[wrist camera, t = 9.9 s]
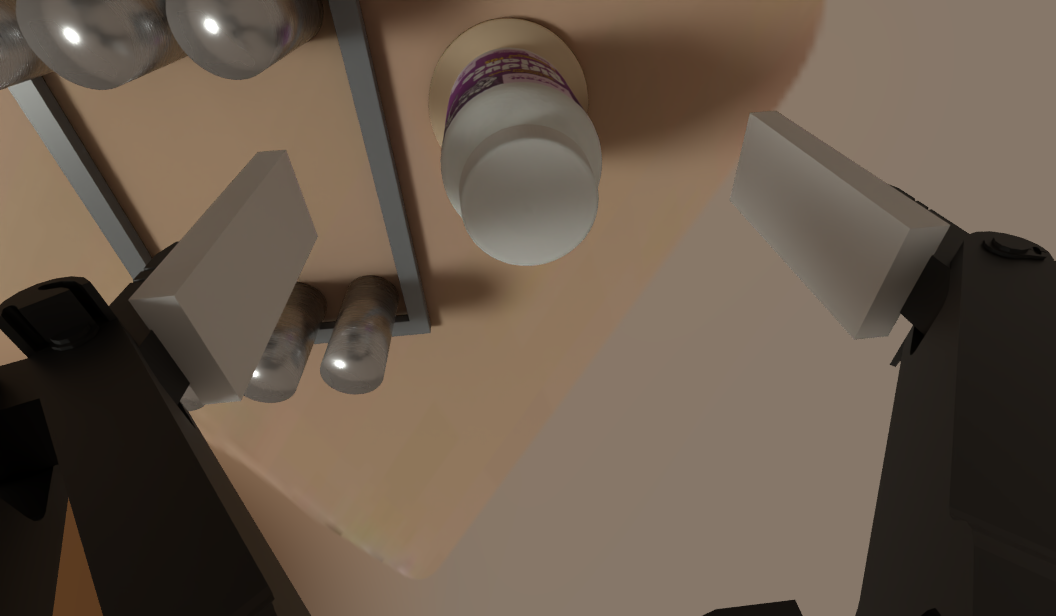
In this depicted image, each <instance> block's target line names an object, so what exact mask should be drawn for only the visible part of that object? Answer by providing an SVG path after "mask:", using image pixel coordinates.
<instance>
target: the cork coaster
mask: <svg viewBox="0 0 1056 616" xmlns="http://www.w3.org/2000/svg"><path fill="white" fill-rule="evenodd" d="M506 47H511V48H520V49H525V50H528V51H531V52H533V53H536V54H538V55H540V56H541V57H543V58H544V59H546V60H547V61H548V62H550V63H551V64H552V65H553V66H554V67H555V68H556V69H557V70H558V72H559V73H560V74H561V75H562V77H563V78H564V80H565V81H566V83H567V84H568V86H569V88H570V89H571V91H572V92H573V94H574V95H575V97H576V98H577V100H578V101H579V103H580V104H581V106H582V108H583V109H584V111H585V112H586V113H587V115H588V91H587V84H586V80H585V77H584V74H583V71H582V69H581V67H580V64H579V62H578V61H577V59H576V57H575V56H574V54H573V52H572V51H571V50H570V49H569V48H568V46H567V45H566V44H565V43H564V42H563V41H562V40H561V39H560V38H559V37H558V36H557V35H556V34H554V33H553V32H551V31H550V30H548V29H547V28H545V27H543V26H541V25H539V24H537V23H534V22H531V21H528V20H524V19H518V18H498V19H491V20H488V21H485V22H482V23H479V24H477V25H475V26H473V27H471V28H469V29H468V30H466V31H465V32H463V33H462V34H460V35H459V36H458V37H457V38H456V39H455V40H454V41H453V42H452V43H451V44H450V45H449V46H448V48H447V49H446V50H445V51H444V53H443V55H442V56H441V58H440V59H439V61H438V64H437V66H436V68H435V70H434V74H433V77H432V80H431V84H430V91H429V115H430V121H431V125H432V129H433V131H434V134H435V137H436V139H437V141H438V143H439V145H440V147H441V148H442V142H443V136H444V129H445V121H446V114H447V107H448V102H449V98H450V94H451V91H452V87H453V85H454V83H455V81H456V79H457V77H458V76H459V74H460V73H461V72H462V70H463V69H464V68H465V67H466V66H467V65H468V64H469V63H470V62H471V61H472V60H474V59H475V58H476V57H478V56H480V55H482V54H483V53H486V52H488V51H491V50H494V49H499V48H506Z"/></svg>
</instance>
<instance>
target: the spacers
mask: <svg viewBox="0 0 1056 616" xmlns="http://www.w3.org/2000/svg"><path fill="white" fill-rule="evenodd" d="M322 19H323V5H322V0H0V90H1V89H4V88H7V87H10V86H13V85H16V84H19V83H22V82H25V81H28V80H31V79H34V78H37V77H40V76H43V75H46V74H49V73H52V72H56V73H57V74H59V75H60V76H62V77H63V78H65V79H67V80H69V81H70V82H73V83H75V84H77V85H80V86H83V87H86V88H91V89H98V90H107V89H112V88H116V87H118V86H121V85H123V84H125V83H127V82H130V81H132V80H134V79H137V78H139V77H141V76H143V75H146V74H148V73H150V72H152V71H155V70H157V69H159V68H162V67H164V66H166V65H168V64H171V63H173V62H175V61H177V60H180V59H182V58H184V57H187V56H189V57H190V58H191V59H192V60H193V61H194V62H195V63H196V64H198V65H199V66H200V67H202V68H203V69H205V70H207V71H208V72H210V73H212V74H214V75H217V76H220V77H223V78H227V79H233V80H242V79H248V78H251V77H254V76H256V75H258V74H259V73H261V72H262V71H264V70H265V69H267V68H268V67H270V66H271V65H273V64H274V63H276V62H277V61H279V60H280V59H282V58H283V57H285V56H286V55H288V54H289V53H291V52H292V51H294V50H295V49H297V48H298V47H300V46H301V45H303V44H304V43H306V42H307V41H309V40H310V39H311V38H313V37H314V36H315V35H316V34H317V32H318V31H319V29H320V27H321V24H322ZM398 302H399V295H398V292H397V290H396V288H395V287H394V286H393V285H392V284H391V283H390V282H388V281H387V280H385V279H383V278H380V277H377V276H363V277H360V278H357V279H355V280H354V281H353V282H352V283H351V284H350V285H349V287H348V289H347V292H346V295H345V298H344V300H343V303H342V306H341V309H340V312H339V315H338V318H337V320H336V323H335V326H334V329H333V332H332V335H331V338H330V340H329V343H328V346H327V349H326V352H325V355H324V358H323V361H322V363H321V367H320V373H321V376H322V378H323V380H324V381H325V382H326V383H327V384H328V385H329V386H330V387H332V388H333V389H335V390H337V391H340V392H343V393H347V394H364V393H368V392H371V391H373V390H375V389H376V388H377V387H378V386H379V385H380V384H381V383H382V381H383V377H384V372H385V367H386V362H387V357H388V352H389V347H390V342H391V337H392V332H393V327H394V322H395V317H396V312H397V307H398ZM326 310H327V303H326V300H325V298H324V297H323V295H322V294H321V293H320V292H319V291H318V290H316V289H315V288H313V287H311V286H309V285H306V284H303V283H296V284H295V286H294V288H293V290H292V292H291V295H290V297H289V299H288V301H287V303H286V305H285V307H284V310H283V312H282V314H281V316H280V318H279V320H278V322H277V325H276V327H275V329H274V331H273V333H272V335H271V337H270V340H269V342H268V344H267V346H266V348H265V350H264V352H263V355H262V357H261V359H260V361H259V363H258V365H257V367H256V370H255V372H254V374H253V376H252V378H251V380H250V382H249V385H248V387H247V389H246V391H245V393H244V396H246V397H248V398H250V399H252V400H255V401H259V402H265V403H276V402H281V401H284V400H287V399H289V398H290V397H291V396H292V395H293V394H294V393H295V391H296V389H297V386H298V383H299V381H300V378H301V376H302V373H303V370H304V368H305V365H306V363H307V360H308V357H309V355H310V352H311V350H312V347H313V344H314V342H315V339H316V337H317V334H318V331H319V329H320V326H321V324H322V321H323V318H324V316H325V313H326ZM180 401H181V403H182V404H183V405H184V407H185V408H186V409H187V411H193V410H197V409H200V408H201V407H203V406H204V405H203V404H202V402H201V401H200V400H199V398H198V397H197V395H196V394H195V393H194V391H193V390H192V388H191V387H190V386H188V388H187V390H186V391H185V393H184V395H183V397H182V398H181V400H180Z"/></svg>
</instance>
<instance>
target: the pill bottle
mask: <svg viewBox="0 0 1056 616" xmlns="http://www.w3.org/2000/svg"><path fill="white" fill-rule="evenodd" d="M601 170H602V154H601V146H600V141H599V137H598V134H597V132H596V130H595V127H594V125H593V123H592V121H591V120H590V118H589V116H588V115H587V113H586V112H585V111H584V109H583V108H582V106H581V104H580V103H579V101H578V100H577V98H576V97H575V95H574V94H573V92H572V91H571V89H570V88H569V86H568V84H567V83H566V81H565V80H564V78H563V77H562V75H561V74H560V73H559V72H558V70H557V69H556V68H555V67H554V66H553V65H552V64H551V63H550V62H548V61H547V60H546V59H544V58H543V57H541V56H540V55H538V54H536V53H533V52H531V51H528V50H525V49H520V48H511V47H506V48H499V49H494V50H491V51H488V52H486V53H483V54H482V55H480V56H478V57H476V58H475V59H474V60H472V61H471V62H470V63H469V64H468V65H467V66H466V67H465V68H464V69H463V70H462V72H461V73H460V74H459V76H458V77H457V79H456V81H455V83H454V85H453V87H452V91H451V94H450V98H449V102H448V107H447V114H446V121H445V129H444V136H443V142H442V149H441V172H442V179H443V184H444V187H445V190H446V193H447V196H448V198H449V200H450V202H451V204H452V205H453V207H454V208H455V210H456V211H457V213H458V214H459V215H460V216H461V217H462V219H463V222H464V226H465V228H466V230H467V232H468V234H469V235H470V237H471V238H472V240H473V241H474V242H475V243H476V245H477V246H478V247H479V248H481V249H482V250H483V251H484V252H485V253H487V254H488V255H490V256H491V257H493V258H495V259H497V260H500V261H502V262H505V263H509V264H513V265H523V266H532V265H540V264H545V263H548V262H551V261H554V260H557V259H559V258H561V257H563V256H564V255H566V254H568V253H569V252H571V251H572V250H573V249H574V248H576V247H577V246H578V245H579V244H580V243H581V242H582V240H584V239H585V237H586V236H587V234H588V233H589V231H590V229H591V227H592V225H593V223H594V220H595V218H596V214H597V209H598V199H599V198H598V185H599V181H600V177H601Z"/></svg>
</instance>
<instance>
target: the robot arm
mask: <svg viewBox="0 0 1056 616" xmlns="http://www.w3.org/2000/svg"><path fill="white" fill-rule="evenodd" d="M730 201H731V202H732V204H733V205H734V206H735V207H736V208H737V209H738V210H739V211H740V212H741V213H742V215H743V216H744V217H745V218H746V219H747V220H748V221H749V223H751V225H752V226H753V227H754V228H755V229H756V230H757V231H758V233H759V234H760V235H761V236H762V237H763V238H764V239H765V240H766V242H767V243H768V244H769V245H770V246H771V247H772V248H773V249H774V251H775V252H776V253H777V254H778V255H779V256H780V257H781V258H782V259H783V260H784V262H785V263H786V264H787V265H788V266H789V267H790V268H791V270H792V271H793V272H794V273H795V274H796V275H797V276H798V277H799V278H800V280H801V281H802V282H803V283H804V284H805V285H806V286H807V287H808V289H809V290H810V291H811V292H812V293H813V294H814V295H815V296H816V297H817V299H818V300H819V301H820V302H821V303H822V304H823V305H824V306H825V308H826V309H827V310H828V311H829V312H830V313H831V314H832V315H833V316H834V317H835V319H836V320H837V321H838V322H839V323H840V324H841V325H842V327H844V329H845V330H846V331H847V332H848V333H849V334H850V335H851V337H852V338H853V339H864V338H874V337H884V336H888V335H889V333H890V332H891V330H892V328H893V326H894V325H895V323H896V321H897V319H898V318H899V316H900V314H902V315H903V316H904V317H905V318H906V319H907V320H908V321H910V323H912V324H913V326H912V328H911V330H910V332H909V333H908V335H907V337H906V338H905V340H904V342H903V343H902V345H901V347H900V348H899V350H898V352H897V353H896V355H895V357H894V358H893V360H892V362H891V363H890V365H892V366H895V367H896V366H897V364H898V363H899V362H900V361H901V364H900V370H899V376H898V382H897V387H896V393H895V400H894V405H893V411H892V416H891V422H890V428H889V434H888V440H887V445H886V451H885V457H884V462H883V469H882V474H881V480H880V486H879V491H878V497H877V503H876V509H875V515H874V520H873V526H872V532H871V538H870V544H869V549H868V555H867V561H866V567H865V572H864V578H863V584H862V590H861V596H860V601H859V605H858V609H857V612H856V615H855V616H1056V261H1054V259H1053V258H1052V256H1051V255H1050V253H1049V252H1048V251H1047V250H1045V249H1044V248H1043V247H1041V246H1039V245H1037V244H1035V243H1033V242H1031V241H1028V240H1026V239H1023V238H1020V237H1017V236H1013V235H1009V234H1005V233H998V232H990V231H989V232H975V233H972V234H969V233H967V232H966V231H964V230H962V229H961V228H959V227H958V226H956V225H955V224H953V223H952V222H950V221H948V220H947V219H945V218H944V217H942V216H941V215H939V214H937V213H936V212H935V211H933V210H928V207H927V206H925V205H924V204H922V203H921V202H919V201H915V198H913V197H912V196H910V195H908V194H907V193H905V192H904V191H902V190H901V189H899V188H897V187H894V186H892V185H889V184H887V183H885V182H884V181H882V180H881V179H879V178H878V177H876V176H875V175H873V174H872V173H870V172H869V171H867V170H866V169H864V168H862V167H861V166H860V165H858V164H856V163H855V162H853V161H852V160H850V159H849V158H847V157H846V156H844V155H843V154H841V153H840V152H838V151H837V150H835V149H834V148H832V147H830V146H829V145H828V144H826V143H824V142H823V141H821V140H820V139H818V138H817V137H815V136H814V135H812V134H811V133H809V132H808V131H806V130H804V129H803V128H802V127H800V126H798V125H797V124H795V123H794V122H792V121H791V120H789V119H788V118H786V117H785V116H783V115H782V114H780V113H779V112H777V111H766V112H754V113H750V115H749V119H748V124H747V128H746V132H745V137H744V141H743V145H742V149H741V154H740V158H739V162H738V167H737V171H736V175H735V180H734V184H733V188H732V193H731V197H730ZM317 237H318V236H317V233H316V230H315V227H314V225H313V222H312V219H311V216H310V214H309V211H308V208H307V206H306V203H305V200H304V197H303V195H302V192H301V189H300V186H299V184H298V181H297V178H296V176H295V173H294V170H293V167H292V165H291V162H290V159H289V156H288V154H287V151H286V150H277V151H264V152H257V154H256V155H255V156H254V157H253V158H252V159H251V160H250V162H249V163H248V164H247V165H246V166H245V167H244V168H243V170H242V171H241V172H240V173H239V174H238V175H237V176H236V178H235V179H234V180H233V181H232V182H231V183H230V184H229V185H228V187H227V188H226V189H225V190H224V191H223V192H222V193H221V195H220V196H219V197H218V198H217V199H216V200H215V201H214V203H213V204H212V205H211V206H210V207H209V208H208V209H207V211H206V212H205V213H204V214H203V215H202V216H201V217H200V219H199V220H198V221H197V222H196V223H195V224H194V225H193V227H192V228H191V229H190V230H189V231H188V232H187V233H186V235H185V236H184V237H183V238H182V239H181V240H180V241H179V242H175V243H173V244H172V245H170V246H169V247H167V248H166V249H164V250H162V251H161V252H159V253H158V254H156V255H155V256H154V257H153V258H152V260H151V261H150V262H149V263H148V264H147V265H146V266H145V267H144V268H143V269H144V271H141V272H140V273H139V274H138V275H137V276H136V277H135V278H134V279H133V283H130V284H129V285H128V286H127V287H126V288H125V289H124V290H123V291H122V292H121V294H120V295H119V296H118V297H117V298H116V299H115V300H114V301H113V302H112V303H111V304H110V306H108V305H107V303H106V302H105V301H104V299H103V298H102V297H101V295H100V294H99V293H98V291H97V290H96V289H95V288H94V286H93V285H92V284H91V282H90V281H88V280H87V279H85V278H84V277H73V276H71V277H64V278H56V279H52V280H49V281H46V282H42V283H39V284H36V285H34V286H31V287H29V288H27V289H25V290H22V291H20V292H18V293H16V294H15V295H13V296H12V297H10V298H8V299H7V300H5V301H4V302H3V303H2V304H1V305H0V329H1V330H2V331H3V332H4V333H5V334H6V335H7V336H8V337H9V339H11V341H12V342H13V343H14V344H15V345H16V346H17V347H18V348H19V349H20V350H21V351H22V352H23V353H24V354H25V355H26V356H27V357H28V358H27V359H24V360H20V361H17V362H13V363H10V364H6V365H2V366H0V616H52V615H53V607H54V600H55V592H56V584H57V577H58V570H59V562H60V555H61V548H62V540H63V533H64V525H65V518H66V511H67V503H68V497H69V501H70V504H71V507H72V511H73V514H74V518H75V521H76V525H77V528H78V531H79V535H80V538H81V542H82V545H83V548H84V552H85V555H86V559H87V562H88V566H89V569H90V572H91V576H92V579H93V583H94V586H95V590H96V593H97V596H98V600H99V603H100V606H101V610H102V613H103V616H311V615H310V613H309V611H308V610H307V608H306V606H305V605H304V603H303V601H302V600H301V598H300V596H299V595H298V593H297V591H296V590H295V588H294V586H293V585H292V583H291V582H290V580H289V578H288V577H287V575H286V573H285V572H284V570H283V568H282V567H281V565H280V563H279V561H278V560H277V558H276V557H275V555H274V553H273V552H272V550H271V548H270V547H269V545H268V543H267V542H266V540H265V538H264V537H263V535H262V533H261V532H260V530H259V529H258V527H257V525H256V523H255V522H254V520H253V518H252V517H251V515H250V513H249V512H248V510H247V509H246V507H245V505H244V503H243V502H242V500H241V498H240V497H239V495H238V493H237V492H236V490H235V489H234V487H233V485H232V484H231V482H230V480H229V479H228V477H227V475H226V474H225V472H224V470H223V468H222V467H221V465H220V464H219V462H218V460H217V459H216V457H215V455H214V454H213V452H212V450H211V449H210V447H209V445H208V444H207V442H206V440H205V439H204V437H203V435H202V434H201V432H200V430H199V429H198V427H197V425H196V424H195V422H194V420H193V419H192V417H191V415H190V414H189V412H188V411H187V409H186V408H185V407H184V405H183V404H182V403H181V401H180V400H181V398H182V397H183V395H184V393H185V391H186V390H187V388H188V386H190V387H191V388H192V390H193V391H194V393H195V394H196V395H197V397H198V398H199V400H200V401H201V402H202V404H203V405H205V404H215V403H225V402H235V401H241V400H242V397H243V395H244V393H245V391H246V389H247V387H248V385H249V382H250V380H251V378H252V376H253V374H254V372H255V370H256V367H257V365H258V363H259V361H260V359H261V357H262V355H263V352H264V350H265V348H266V346H267V344H268V342H269V340H270V337H271V335H272V333H273V331H274V329H275V327H276V325H277V322H278V320H279V318H280V316H281V314H282V312H283V310H284V307H285V305H286V303H287V301H288V299H289V297H290V295H291V292H292V290H293V288H294V286H295V284H296V282H297V280H298V277H299V275H300V273H301V271H302V269H303V267H304V265H305V262H306V260H307V258H308V256H309V254H310V252H311V250H312V247H313V245H314V243H315V241H316V239H317ZM703 616H802V614H801V611H800V609H799V607H798V605H797V603H796V601H795V600H789V601H781V602H773V603H764V604H757V605H748V606H740V607H731V608H723V609H716V610H714V611H712V612H709V613H707V614H705V615H703Z"/></svg>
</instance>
